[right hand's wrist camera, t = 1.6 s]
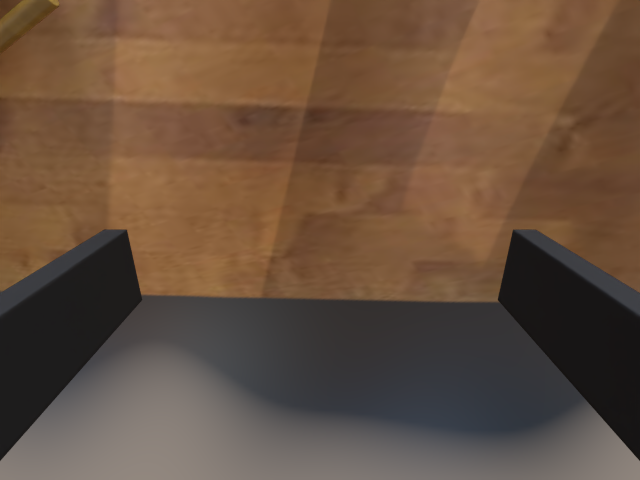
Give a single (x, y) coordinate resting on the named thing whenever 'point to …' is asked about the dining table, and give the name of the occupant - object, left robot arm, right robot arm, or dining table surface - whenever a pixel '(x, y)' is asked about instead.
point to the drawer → (23, 20)
